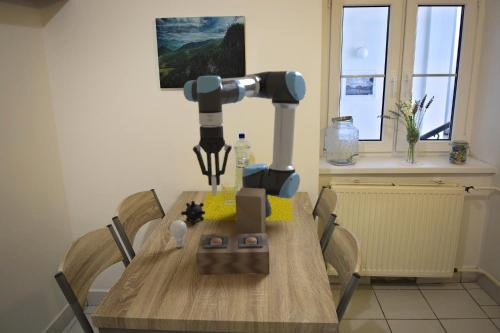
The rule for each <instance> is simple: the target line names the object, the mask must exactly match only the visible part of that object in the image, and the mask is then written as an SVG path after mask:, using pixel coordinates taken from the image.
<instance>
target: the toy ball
mask: <svg viewBox="0 0 500 333" xmlns="http://www.w3.org/2000/svg"><path fill="white" fill-rule="evenodd" d="M204 205H205V204H204V202H200V203H199V204H197V203H195V200H192V201H191V202H190V203H189V202H186V203H185V206H186V209H185V211H181V212H180V214H181V216H185V217H186V218H185V219H186V221H191V223H190V224H191V225H192V226H195V224H196V221H198V220H201V221H204V219H205V218H204V217H203V216H204V215H205V214H206V211H205V210H203V207H204Z"/></svg>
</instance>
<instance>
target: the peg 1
mask: <svg viewBox="0 0 500 333" xmlns="http://www.w3.org/2000/svg"><path fill="white" fill-rule="evenodd" d="M210 245H222V239H220V238H213V239H211V240H210Z"/></svg>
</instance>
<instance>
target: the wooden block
mask: <svg viewBox="0 0 500 333" xmlns="http://www.w3.org/2000/svg"><path fill="white" fill-rule="evenodd" d="M266 218H267V217H266V204H265V189H260V188H243V187H240V189H239V191H238V192H237V194H236V195H235V226H236V227H235V228H236V230H235V231H236V234H257V233H267V231H266V230H267V229H266V228H267V227H266V224H267V223H266V220H267V219H266Z"/></svg>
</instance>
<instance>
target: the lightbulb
mask: <svg viewBox="0 0 500 333" xmlns="http://www.w3.org/2000/svg"><path fill="white" fill-rule="evenodd" d="M169 232H170V234H171V236H173V238H174V240H175V247H176V248H179V249H181V248H182V247H184V237H185V235H186V233H187V232H188V226H187V224H186V222H184V221H183V220H181V219H177V220H174V221H172V223H171V224H170V226H169Z"/></svg>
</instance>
